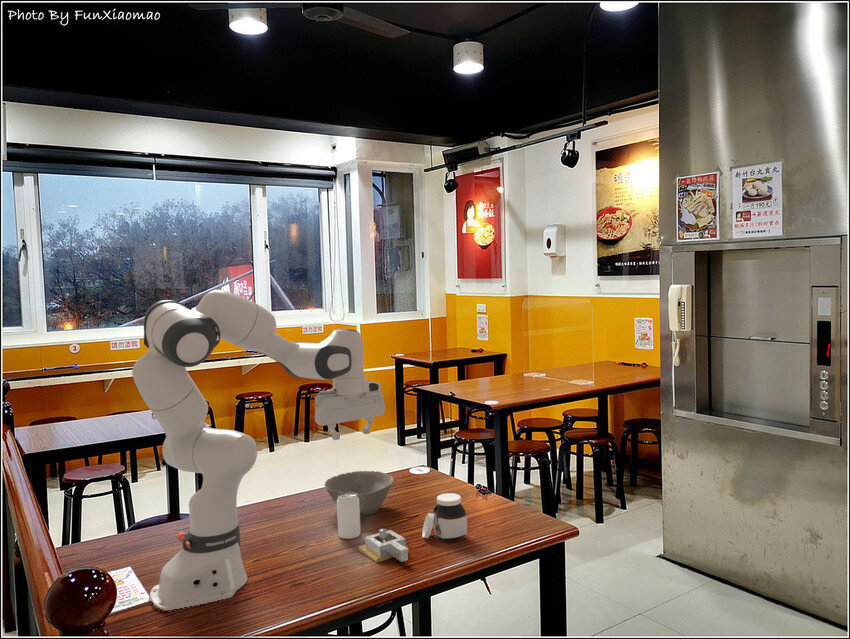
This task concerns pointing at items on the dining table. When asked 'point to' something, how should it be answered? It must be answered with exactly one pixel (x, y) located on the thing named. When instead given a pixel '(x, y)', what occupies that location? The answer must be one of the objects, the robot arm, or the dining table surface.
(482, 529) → the dining table surface
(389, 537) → the grey square frame handle
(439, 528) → the spread jar
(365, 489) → the ceramic bowl
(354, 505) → the can
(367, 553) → the post
